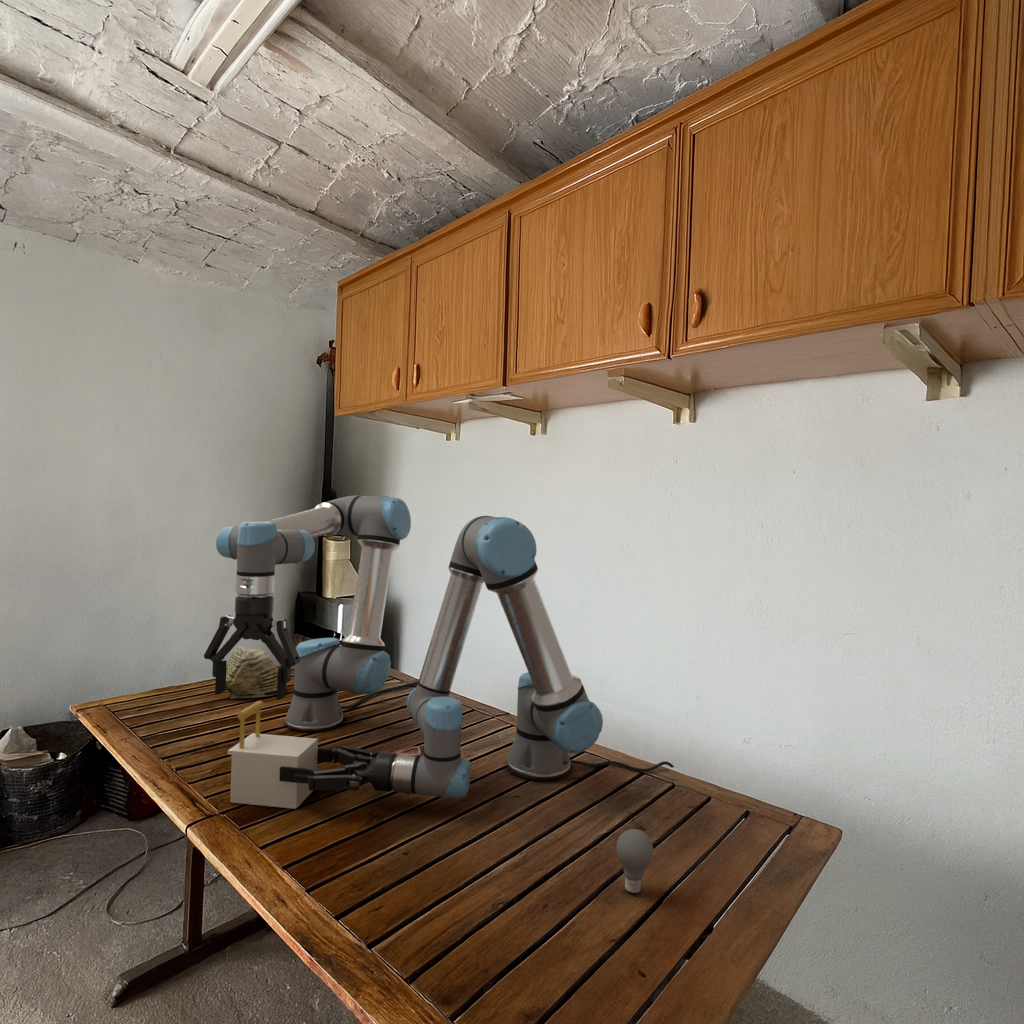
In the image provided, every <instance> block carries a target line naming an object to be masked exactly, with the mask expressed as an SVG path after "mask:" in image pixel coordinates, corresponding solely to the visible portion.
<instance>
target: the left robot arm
mask: <svg viewBox="0 0 1024 1024" xmlns="http://www.w3.org/2000/svg"><path fill="white" fill-rule="evenodd" d="M411 526H412V517H411V512H410V510H409V507H408V505H407V503H406V502H405V501H404V500H403V499H401V498H400V497H394V496H387V495H385V496H380V495H379V496H378V495H360V494H359V495H348V496H343V497H339V498H336V499H332V500H327V501H324V502H320V503H318V504H317V505H316V506H315V507H314V508H312V509H308V510H304V511H300V512H297V513H292V514H288V515H285V516H281V517H277V518H273V519H269V520H265V521H243V522H241V523H240V524H239V526H237V525H233V526H225V527H223V528H222V529H220V530H219V532H218V533H217V536H216V538H215V546H216V547H215V548H216V551H217V553H218V554H219V555H220V556H222V557H223V558H227V559H232V560H236V576H235V593H236V597H235V600H234V613H235V616H232V615H231V614H226V615H223V616H221V617H220V619H219V624H218V627H217V630H216V631H215V633H214V635H213V637H212V639H211V641H210V643H209V645H208V646H207V649H206V650H205V652H204V654H203V658H204V659H205V660H210V661H211V662H212V670H211V671H212V673H211V674H212V677H213V678H215V684H214V685H215V687H214V695H221V694H222V693H224V692H226V691H227V689H226V668H227V662H228V660H225V657H226V656H227V655H228V654H229V653H230V652H231V651H232V650H233V649H234V647H236V645H237V644H238V643H239V642H240V641H241V640H242V639H243V640H253V641H259V640H260V641H261V642H262V643H263V644H264V645H265V646H266V647H267V648H268V650H269V651H270V652H271V654H272V655H273V656H274V658H275V660H276V661H277V662H278V663H279V665H280V667H277V668H278V677H277V694H276V700H279V701H280V700H282V699H284V698H285V697H286V696H287V687H286V685H287V684H288V683H289V682H290V681H291V678H292V677H291V676H292V675H291V674H292V667H293V666H294V670H293V671H294V672H293V695H292V696H293V697H292V699H291V702H290V704H289V705H288V711H287V713H286V715H285V726H286V728H287V729H289V730H291V731H294V732H295V731H296V732H301V733H316V732H325V731H329V730H332V729H335V728H337V727H339V726H340V725H342V723H343V722H344V714H343V710H349V709H352V708H354V707H356V706H357V705H359V704H360V703H362V702H364V701H366V700H368V699H370V698H373V697H374V696H376V695H380V694H383V693H388V692H392V691H395V690H401V689H404V688H409V687H413V686H417V684H418V681H419V680H417V681H414V682H410V683H406V684H401V685H396V686H392V687H388V688H387V687H386V688H384V689H382V688H383V686H384V685H385V684H386V682H387V680H388V678H389V676H390V672H391V665H392V661H391V656H390V655H389V653H387V652H386V651H385V646H386V643H384V641H383V640H382V639H381V636H382V628H383V622H384V616H385V608H386V602H387V595H388V588H389V581H390V574H391V569H392V561H393V555H394V552H395V551H396V550H397V549H399V548H400V543H401V541H402V540H404V539H406V538H407V537H408V536H409V534H410V531H411V528H412V527H411ZM337 535H340V536H342V535H343V536H355V537H357V543H358V544H359V545H360V547H361V552H360V558H359V565H358V571H357V577H356V582H355V583H356V585H355V591H354V596H353V603H352V609H351V615H350V622H349V629H348V633H347V635H346V636H344V638H342V639H341V642H340V640H339V638H337V637H321V638H313V639H307V640H304V641H302V642H299V643H298V644H297V645H295V643H294V641H293V638H292V635H291V633H290V631H289V628H288V627H289V626H288V620H287V618H281V619H275V620H274V618H273V613H274V602H275V601H274V600H275V599H274V596H273V594H274V593H275V574H276V573H275V572H276V566H277V565H289V564H296V565H297V564H300V563H304V562H306V561H308V560H310V559H311V558H312V556H313V554H314V553H315V549H316V548H315V546H316V544H315V540H314V539H315V538H318V537H321V536H323V537H333V536H337ZM232 626H234V628H235V629H236V630H235V631H234V632H233V633H232V634H231V635H230V637H229V639H228V640H227V641H226V642H225V643H224V644H223V645H222V643H223V641H224V640H225V638H226V636H227V634H228V632H229V630H230V628H231V627H232ZM273 627H274V630H275V631H276V633H277V636H278V639H279V641H280V643H281V644H280V643H279V641H278V640H277V639H276V636H275V634H274V632H273V631H272V628H273ZM221 646H222V647H221ZM338 691H341V692H347V693H355V694H356V695H366V696H363V697H361V698H360V699H358V700H357V701H355V702H353V703H351V704H347V705H341V702H340V699H339V695H338Z"/></svg>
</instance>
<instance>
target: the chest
mask: <svg viewBox="0 0 1024 1024" xmlns="http://www.w3.org/2000/svg"><path fill="white" fill-rule="evenodd" d="M318 748H319V742H318V743H317V744H316V745H315V746H314V747H312V748H311V749H310V750H309V751H308V752H307V753H306V754H305V755H304V756H302V757H301V758H300V759H299V760H298V761H295V760H284V759H272V758H261V757H250V756H239V755H231V766H230V767H231V769H230V770H231V771H230V796H229V797H230V798H229V799H230V800H229V802H230V803H231V804H232V803H234V804H241V805H242V804H243V805H253V806H262V807H264V806H265V807H274V808H282V809H292V810H293V809H294V810H297V808H299V807H300V805H301V804H303V802H304V801H305V800H307V798H308V797H309V796H310V795H311V794H312V792H313V791H310V790H309V784H305V783H295V782H284V781H279V777H280V767H281V766H284V767H295V768H306V769H311V768H313V772H314V771H318V761H317V754H318Z"/></svg>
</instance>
